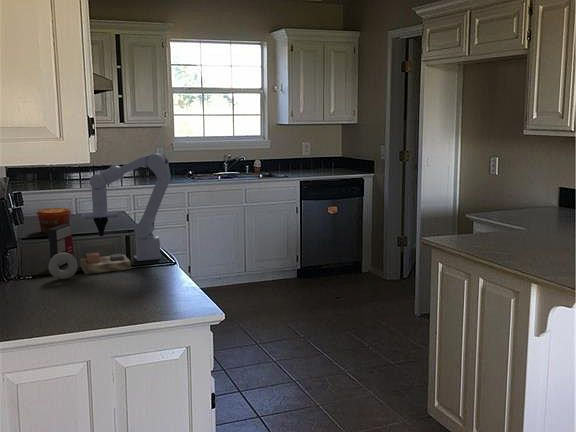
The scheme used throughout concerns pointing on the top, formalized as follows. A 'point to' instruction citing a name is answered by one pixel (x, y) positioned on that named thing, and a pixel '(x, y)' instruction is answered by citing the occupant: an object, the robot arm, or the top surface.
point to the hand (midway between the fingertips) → (101, 235)
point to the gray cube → (116, 257)
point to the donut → (63, 258)
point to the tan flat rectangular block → (105, 265)
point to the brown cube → (92, 257)
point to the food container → (53, 218)
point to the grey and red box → (60, 240)
